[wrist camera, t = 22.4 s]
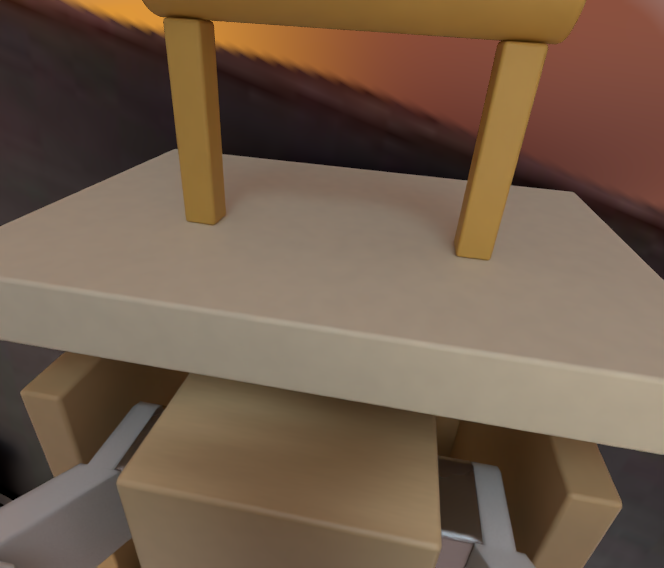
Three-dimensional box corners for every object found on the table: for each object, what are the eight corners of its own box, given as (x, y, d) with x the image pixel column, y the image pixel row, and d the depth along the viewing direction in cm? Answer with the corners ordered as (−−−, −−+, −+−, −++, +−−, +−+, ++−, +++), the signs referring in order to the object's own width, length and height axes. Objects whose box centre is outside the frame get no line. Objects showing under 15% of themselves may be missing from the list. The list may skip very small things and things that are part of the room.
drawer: (150, -49, 11) (-316, -203, 4) (650, -24, 9) (1269, -194, 2) (209, 451, 20) (101, 663, 13) (465, 501, 18) (492, 768, 12)
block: (241, 443, 12) (158, 632, 8) (232, 307, 10) (112, 481, 6) (403, 473, 11) (395, 692, 7) (433, 338, 9) (444, 550, 5)
